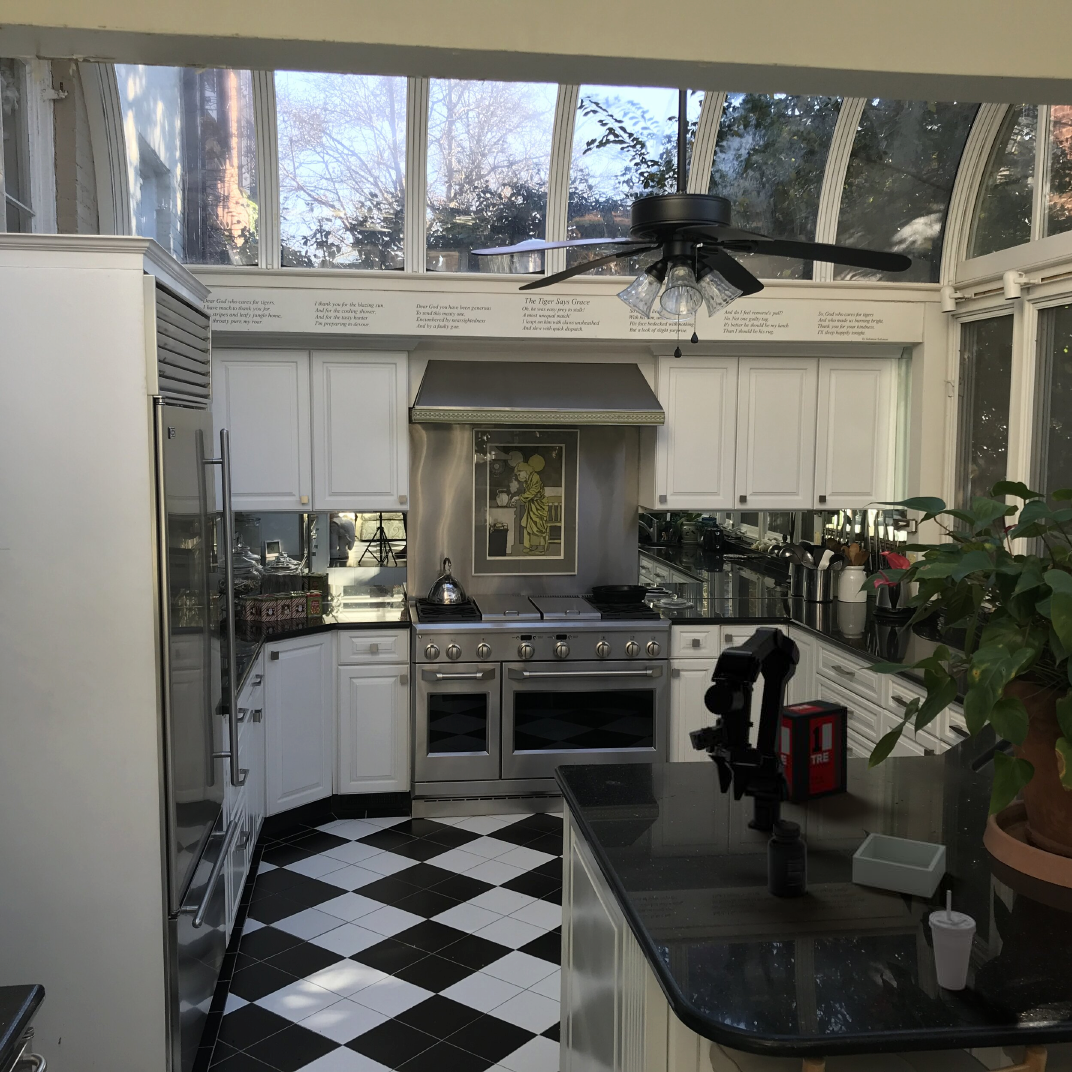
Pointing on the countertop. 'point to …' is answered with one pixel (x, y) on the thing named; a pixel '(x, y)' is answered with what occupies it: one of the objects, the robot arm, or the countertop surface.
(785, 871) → the supplement bottle
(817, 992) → the countertop surface
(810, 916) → the countertop surface
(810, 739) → the cleaning product box
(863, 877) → the box
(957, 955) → the smoothie
